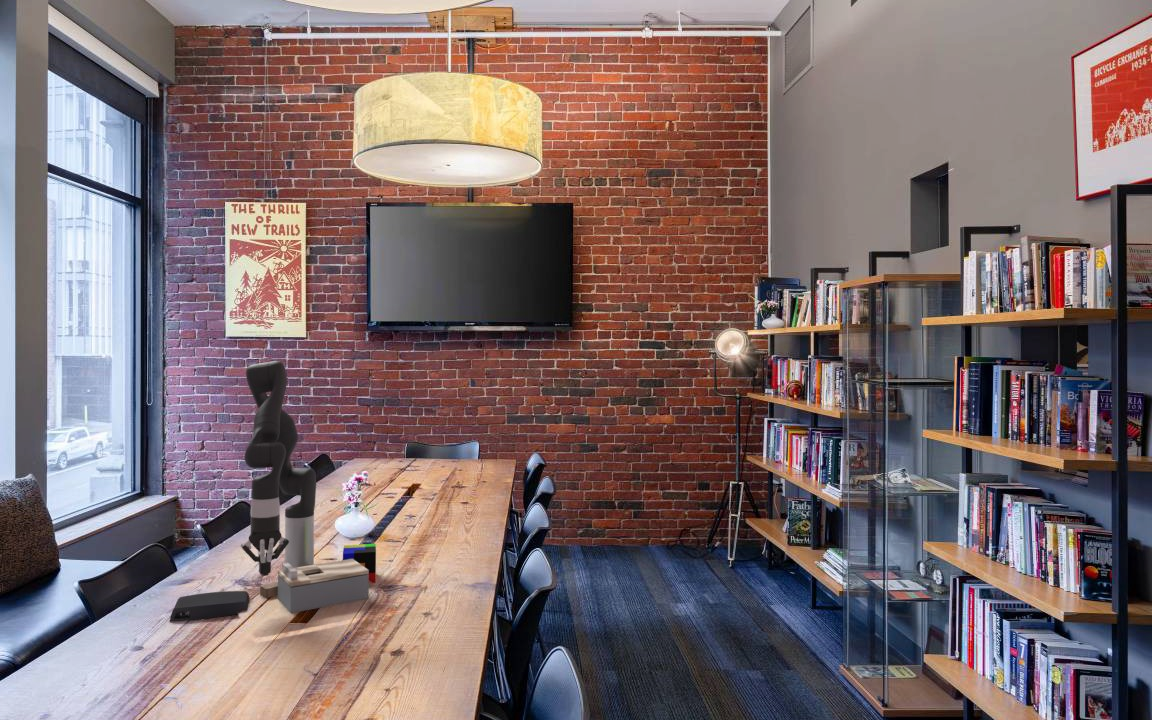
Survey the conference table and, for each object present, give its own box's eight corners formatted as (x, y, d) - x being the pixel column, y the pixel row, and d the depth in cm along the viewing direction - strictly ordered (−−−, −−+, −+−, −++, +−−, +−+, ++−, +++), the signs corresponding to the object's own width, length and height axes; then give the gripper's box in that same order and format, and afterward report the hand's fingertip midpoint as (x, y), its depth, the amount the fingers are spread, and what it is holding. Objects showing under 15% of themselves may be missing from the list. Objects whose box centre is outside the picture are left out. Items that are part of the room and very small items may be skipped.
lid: (277, 573, 217) (277, 562, 217) (352, 561, 230) (352, 550, 230) (290, 586, 205) (290, 574, 205) (368, 573, 218) (368, 561, 218)
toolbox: (277, 602, 217) (277, 574, 217) (352, 588, 230) (352, 562, 230) (290, 616, 206) (290, 587, 205) (368, 601, 218) (368, 574, 218)
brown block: (260, 585, 220) (308, 575, 231) (259, 599, 220) (308, 587, 231) (265, 588, 217) (314, 577, 228) (265, 602, 217) (314, 590, 228)
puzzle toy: (342, 585, 233) (342, 553, 233) (343, 576, 243) (343, 545, 242) (375, 583, 236) (375, 551, 235) (375, 573, 245) (375, 543, 245)
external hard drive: (176, 608, 212) (176, 594, 212) (250, 601, 219) (250, 587, 219) (168, 624, 200) (168, 609, 200) (247, 616, 207) (247, 602, 206)
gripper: (242, 519, 202) (242, 582, 202) (293, 513, 210) (292, 574, 210) (236, 513, 208) (236, 575, 208) (286, 508, 216) (286, 568, 216)
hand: (264, 575), depth 209 cm, fingers closed
